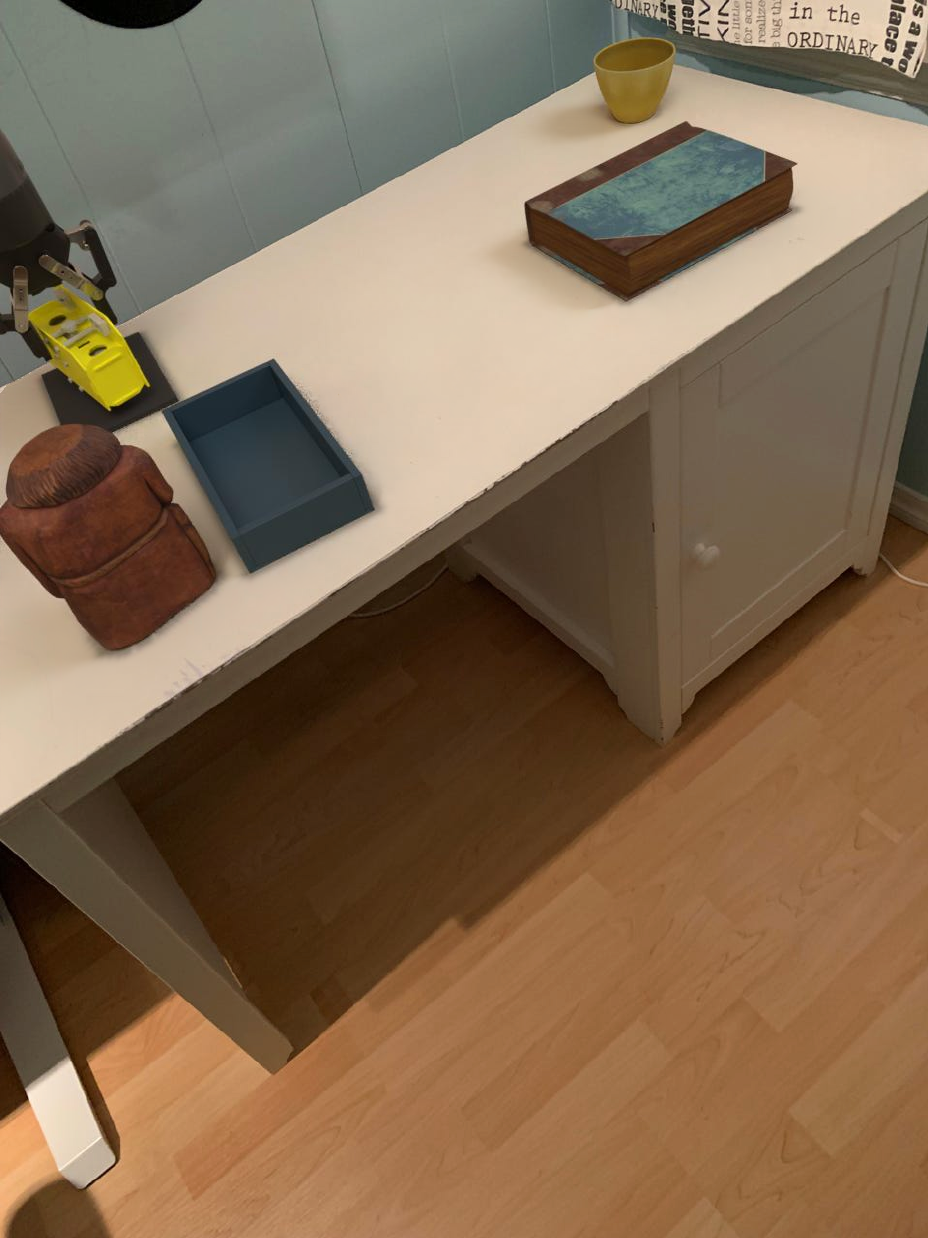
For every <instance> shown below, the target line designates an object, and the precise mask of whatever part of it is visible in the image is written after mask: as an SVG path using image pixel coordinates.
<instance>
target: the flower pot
mask: <svg viewBox="0 0 928 1238" xmlns="http://www.w3.org/2000/svg"><path fill="white" fill-rule="evenodd" d="M675 56H676V46H675V44H673V42H671V41H669V40H667V39H664V38H659V37H635V38H630V39H625V40H621V41H617V42H615V43H612V44H610V45H607V46H606V47H604V48H603V49H601V50H600V51H598V52H597V53H596V54H595V56H594V57H593V59H592V61H593V68H594V74H595V77H596V80H597V84H598V87H599V90H600V92H601V95H602V98H603V99H604V101H605V103H606V106H607V107H608V109H609V110H610V113H612V115H613V117H614V118H615V120H617V121H618V122H621V123H626V124H635V123H640V122H643V121H646V120H648V119H650V118H652V117H653V116H654V115H655V113H656V111H657V110H658V108H659V106H660V105H661V102H662V100H663V98H664V95H665V93H666V91H667V89H668V86H669V83H670V80H671V76H672V73H673V68H674V63H675Z"/></svg>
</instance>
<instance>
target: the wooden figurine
mask: <svg viewBox="0 0 928 1238" xmlns="http://www.w3.org/2000/svg"><path fill="white" fill-rule="evenodd" d="M6 475H7V476H6V483H5V495H6V496H5V497H6V500H5V501H4V503H3V504H2V505H1V507H0V537H1V539H2V541H3V542H4V543H5V545H6V546H7V547H8V548H9V550H10V551H11V553H13V555H14V556H15V557H16V558H17V559H18V560H19V561H20V563H21V564H22V565H23V566H24V567H25V569H27V570H28V571H29V573H30V574H31V575H32V576H33V577H34V578H35V579H36V581H38V583H39V584H40V585H41V586H42V588H44V589H45V590H46V592H47V593H48V594H50V595H51V596H52V597H54V598H56V599H62V600H64V601H65V602H66V604H67V606H68V607H69V609H70V612H71V613H72V614H73V615H74V617H75V618H76V621H77V622H78V623H79V624H80V626H81V627H82V628H83V629H84V630H85V632H86V633H88V634H89V635H90V636H91V637H92V638H93V639H94V640H95V641H96V642H98V644H99V645H100V646H101V647H102V648H104V649H105V650H119V649H122V648H125V647H128V646H130V645H132V644H134V643H138V642H140V641H142V640H143V639H145V638H146V637H148V636H149V635H150V634H152V633H154V631H155V630H157V629H158V628H160V627H161V626H162V625H163V624H165V622H167V621H168V620H169V619H171V618H172V617H173V616H175V614H177V613H178V612H179V611H181V610H182V609H184V608H185V607H187V606H188V605H189V604H190V603H192V602H193V601H194V600H196V599H197V598H199V596H201V595H203V593H204V592H205V591H207V590H208V589H210V588H211V587H212V586H213V584H214V582H215V579H216V576H217V572H216V568H215V566H214V563H213V561H212V558H211V554H210V552H209V550H208V548H207V546H206V543H205V542H204V540H203V538H202V536H201V535H200V532H199V531H198V529H197V528H196V526H195V525H194V524H193V522H192V520H191V518H190V517H189V515H188V514H187V513H186V512H185V511H184V509H183V508H182V506H181V505H180V504H179V503H176V502H173V501H174V493H175V491H174V488H173V487H172V486H171V485H170V484H169V482H168V481H167V479H166V478H165V477H164V475H163V473H162V472H161V470H160V469H159V467H158V465H157V463H156V461H155V460H154V459H153V457H152V455H150V454H149V452H148V451H147V450H144V449H142V448H140V447H138V446H135V445H133V444H132V445H131V444H121V442H120V440H119V438H118V437H117V436H116V435H115V434H114V433H113V432H108V431H106V430H104V429H102V428H100V427H98V426H94V425H87V424H68V425H56V426H52V427H50V428H47V429H46V430H43V431H41V432H40V433H38V434H36V435H35V436H34V437H32V438H31V439H29V441H28V442H25V444H23V446H22V447H21V448H20V449H19V450H18V452H17V453H16V454H15V456H14V457H13V459H12V460H11V462H10V464H9V467H8V470H7V474H6Z"/></svg>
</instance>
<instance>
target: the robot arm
mask: <svg viewBox="0 0 928 1238" xmlns="http://www.w3.org/2000/svg"><path fill="white" fill-rule="evenodd" d="M71 244H77V245H78V247H79V248H80V249H81V250H82V251H84V252H89V253H90V255H91V257H92V260H93V262H94V265H95V267H96V270H97V271H98V273H96V275H95V276H93V277H92V276H90V275H88V274H87V273H86V272H84V271H83V270H82V269H80V268H79V267H78V266H77V265H76V264H74V263H73V262H72V261H70V253H71ZM63 281H64V282H65V283H67V284H68V285H70V286H71V287H73V288H74V289H76V290H79V291H80V292H82V293H83V294H86V295H87V296H88V297H89V298H90V301H91V302H92V304H93V307H94V308H95V309H97V310H98V311H100V312H101V313H103V314H104V315H105V316H107V317H108V319H109V320H110V321H111V322H112V323H113V325H114V326H116V325H118V323H119V321H118V317H117V315H116V314H115V312H114V310H113V308H112V306H111V304H110V303H109V301H108V298H107V296H106V293H107V292H108V290H110V288H114V287H116V285H117V283H118V281H117V277H116V276H115V273H114V270H113V268H112V266H111V263H110V261H109V258H108V256H107V253H106V250H105V249H104V246H103V244H102V240H101V239H100V236H99V233H98V231H97V230H96V229H95V227H94V225H93V223H92V222H91V221H90V220H88V219H82V220H81V221H80V222H79V224H78V226H75V227H72V228H68V229H63V228H62V227H61V226H59V225H58V224H57V223H56V222H55V220H54V219H53V216H52V215H51V214H50V211H49V209H48V208H47V206H46V204H45V202H44V201H43V199H42V196H41V195H40V193H39V191H38V190H37V188H36V186H35V185H34V183H33V180H32V179H31V177H30V175H29V174H28V172H27V170H26V168H25V165H24V163H23V161H22V160H21V158H19V156H18V154H17V152H16V150H15V149H14V147H13V145H12V143H11V141H9V139H8V137H7V136H6V134H5V133H4V132H3V130H2V129H1V128H0V284H1V285H3V286H5V287H7V288H8V294H9V295H8V296H9V300H10V313H1V312H0V336H3V335H6V334H7V333H11V332H15V333H18V334H19V335H20V336H21V338H22V339H23V341H24V342H25V344H26V345H27V347H28V348H29V350H30V351H31V353H32V355H33V356H34V357H36V358H37V359H41V358H43V359H44V361H45V362H50V361H49V360H51V359H53V358H52V356H51V354H50V352H49V350H48V348H47V346H46V345H45V343H44V342H43V340H42V339H41V337H40V335H39V334H38V332H37V331H36V329H35V327H34V326H33V324H32V323H31V321H30V320H29V321H28V315H29V296H30V295H31V296H32V297H35V296H37V295H39V294H41V293H43V291H45V290H46V289H51V288H54V287H56V286H58V285H63ZM102 319H103V318H102ZM103 320H104V319H103ZM104 321H105V320H104ZM107 325H108V324H107ZM108 327H109V326H108ZM109 329H110V328H109ZM110 331H111V330H110Z"/></svg>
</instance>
